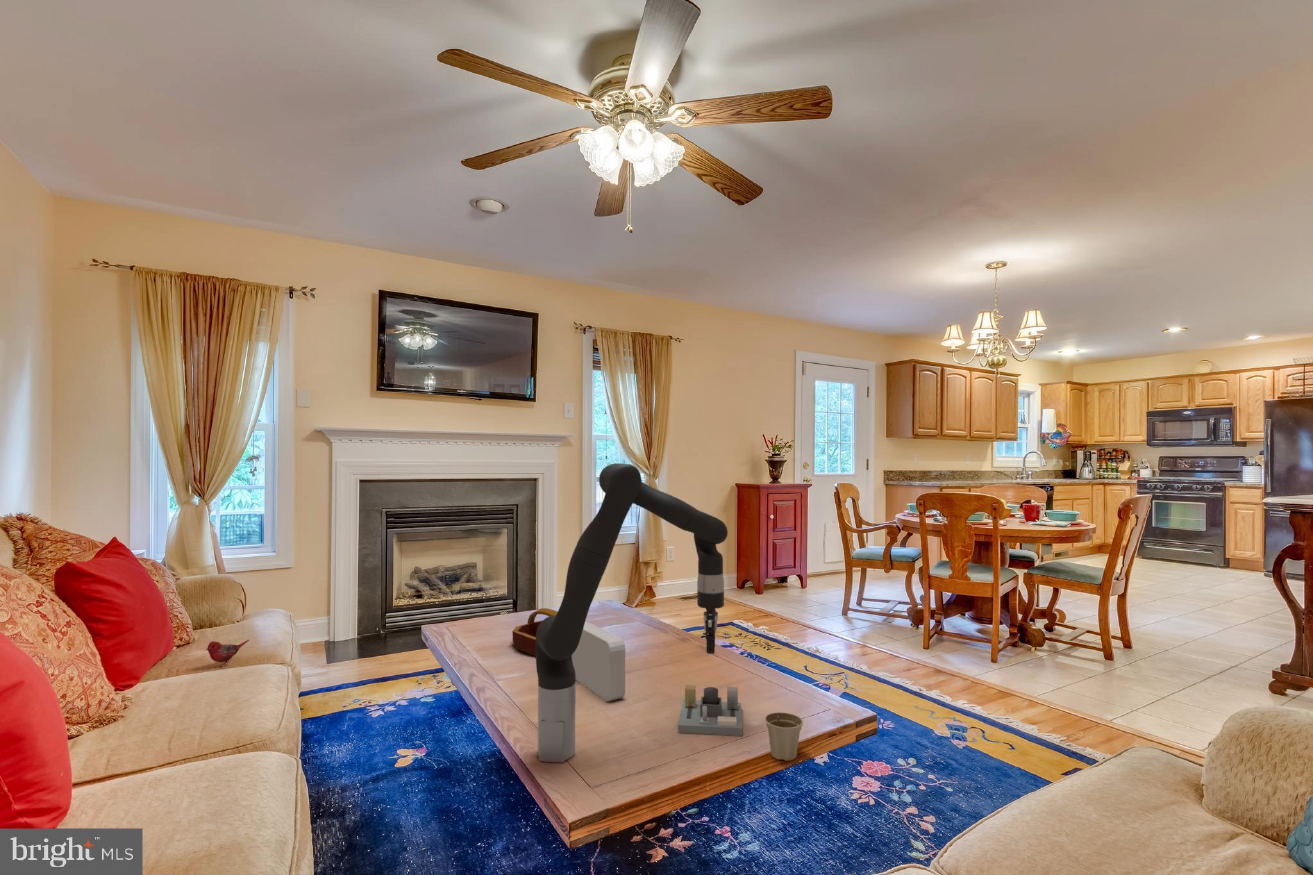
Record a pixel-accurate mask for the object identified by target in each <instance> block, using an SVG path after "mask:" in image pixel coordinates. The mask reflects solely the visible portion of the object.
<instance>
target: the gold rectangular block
mask: <svg viewBox="0 0 1313 875" xmlns="http://www.w3.org/2000/svg"><path fill="white" fill-rule="evenodd" d="M684 700H685V707H696V700H697V685H696V684H695V685H694V684H693V685H692V684H685V687H684Z"/></svg>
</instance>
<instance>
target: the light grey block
mask: <svg viewBox="0 0 1313 875" xmlns="http://www.w3.org/2000/svg"><path fill="white" fill-rule="evenodd" d="M726 688H727V689H726V694H727V697H726V700H727V701H726V702H727V709H738V702H739V690H738V689H739V687H738V686H737V687H736V686H727V687H726Z"/></svg>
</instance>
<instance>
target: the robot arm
mask: <svg viewBox="0 0 1313 875" xmlns="http://www.w3.org/2000/svg"><path fill="white" fill-rule="evenodd" d="M598 482H599V487H600V489H601V490H602V492H603V493H604V497H603V500H602V502H601V504H600V507H599V510H598V512H597V513H596V514H595V516H594V518H592V520H591V521H590V523H589V524H588V525H587V527H586V528H585V529H584V531H583V533H582V534H581V535H580V537H579V539H578V541H577V542H576V545H575V547H574V550H573V551H572V555H571V557H570V560H569V563H568V568H567V572H566V573H567V574H566V579H565V587H564V592H563V593H564V594H563V597H562V599H561V600H562V601H561V603H560V606H559V608H558V611H557V615H553V616H547V617H545V618H544V619H542V620H543V621H542V620H541V621H542V622H541V623H540V625H539V627H538V629H537V633H536V656H535V667H536V673H537V686H538V687H537V689H538V692H537V693H538V694H537V756H538V761H539V762H550V763H565V761H566V760H570V758H572V757H574V755H575V754H576V692H577V691H576V673H575V669H574V666H573V662H572V654H573V653H574V652H575V650H576V649H577V647H578V645H579V642H580V638H581V635H582V631H583V628H584V624H585V621H587V617H588V613H589V610H590V608H591V604H592V602H593V601H594V598H595V595H596V592H597V590H598V588H599V585H600V583H601V581H602V578H603V576H604V573H606V572H605V571H606V569H607V567H608V564H609V561H610V559H611V556H612V553H613V551H614V548H615V545H616V543H617V540H618V538H619V535H620V533H621V530H622V527H623V524H624V522H625V519H627V518H626V517H627V516H628V513H629V511H630V509H631V507H632V506H633V505H636V506H637V507H640V508H642V509H644V510H645V511H648V512H650V513H651V514H654V515H655V516H657V517H658V518H660V519H662V520H663V521H666V522H668V523H669V524H671V525H673V526H675V527H676V528H678V529H680V530H682V531H685V532H689V533H692V534H693V541H694V545H695V549H696V554H697V558H698V560H697V568H698V570H697V582H696V583H697V584H696V586H697V589H696V591H697V594H696V595H697V598H696V600H697V601H696V602H697V604H696V605H697V606H698V607H699V608H701V609H705V611H703V618H702V619H703V621H704V623H703V625H704V627H703V628H704V629H703V630H704V631H705V636H704V639H705V640H706V654H708V655H709V654H710V655H712V654H713V655H714V654H715V647H716V633H717V628H718V618H719V613H718V612H719V611H717V609H721V608H723V607H724V606H725V578H724V558H723V555H722V553H721V552H719V550H718V548H717V545H719V544H721V543H724V542H725V541H726V539H727V538H728V535H729V534H728V532H729V531H728V527H727V526H726V524H725V523H724V522H723V521H722V519H719V518H718V517H715V516H714V515H711V514H708V513H707V512H703V511H701V510H699V509H698V508H696V507H694V506H692V505H691V504H689V503H687V502H685V501H683V500H682V499H680V498H678V497H676V496H674V495H671V494H669V493H666V492H664V491H661V490H658V489H657V488H655V487H652V486H650V485H648V484H647V483H644V482H643V481H642V476H641V472H640V470H639V469H638V468H637V467H636V466H635V465H633V464H630V463H612V464H611V463H610V464H609V465H605V467H603V469H602V470H601V472H600V473H599V477H598Z"/></svg>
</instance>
